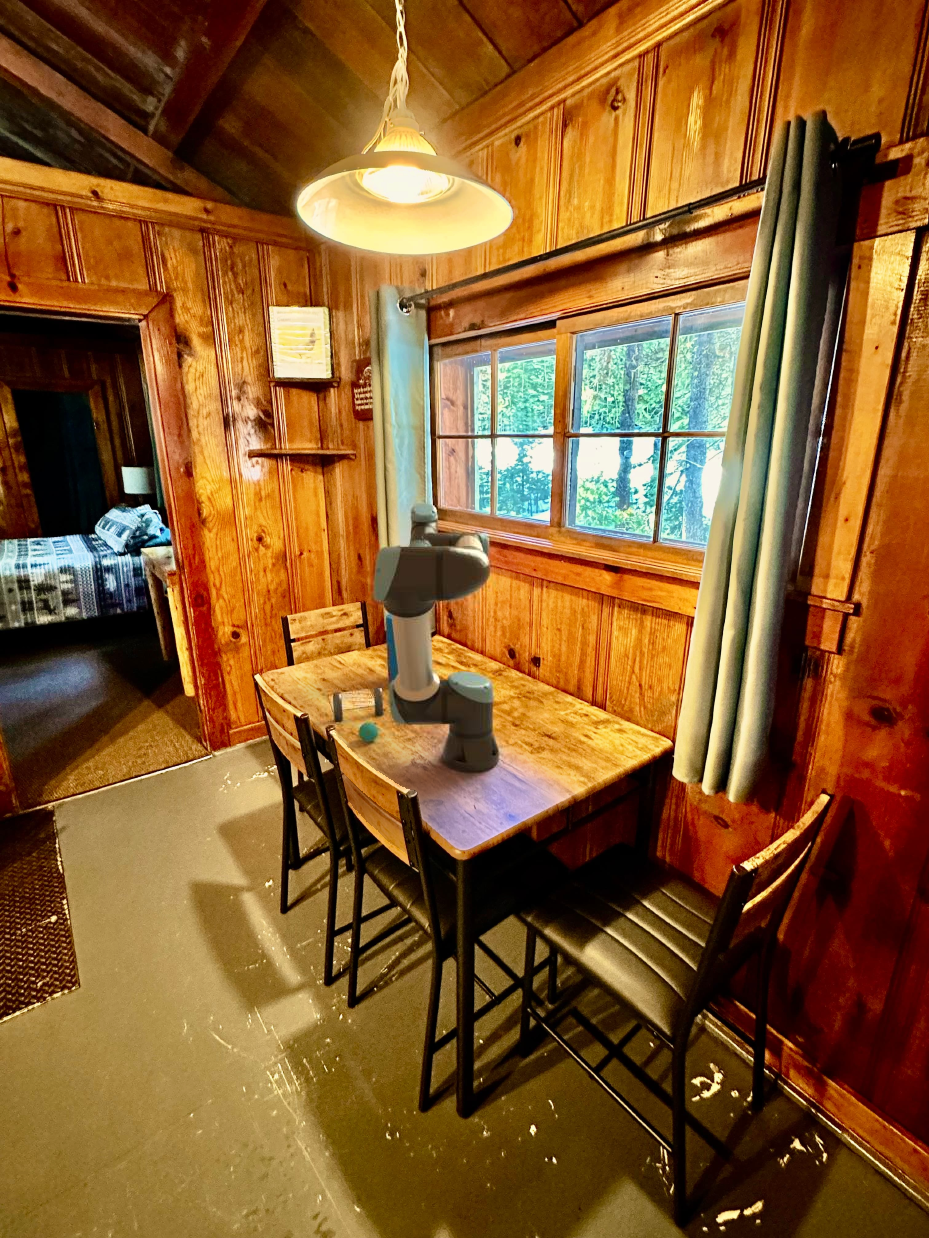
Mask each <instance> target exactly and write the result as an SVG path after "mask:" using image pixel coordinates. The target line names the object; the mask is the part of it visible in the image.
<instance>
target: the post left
mask: <svg viewBox="0 0 929 1238" xmlns="http://www.w3.org/2000/svg"><path fill="white" fill-rule="evenodd" d="M341 693H342V692H341V691H334V692H333V693H331V694H332V695H333V709H334V712H333V722H334V721H335V723H336V722H339V723H342V722H344V716H343V710H342V698H341ZM333 709H332V710H333ZM341 721H342V722H341Z"/></svg>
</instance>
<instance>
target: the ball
mask: <svg viewBox="0 0 929 1238" xmlns="http://www.w3.org/2000/svg"><path fill="white" fill-rule="evenodd" d="M378 735H379V728H378V726H377V724H374V723H373V722H365V723H362V725H360V727H359V730H358V736H359V738H360V739H361V740H362V741H363V742H366V743H372V742H373V741H375V740H376V739H377V737H378Z"/></svg>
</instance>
